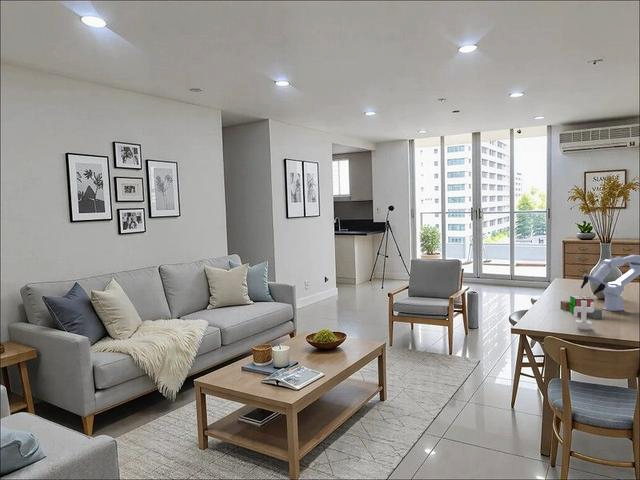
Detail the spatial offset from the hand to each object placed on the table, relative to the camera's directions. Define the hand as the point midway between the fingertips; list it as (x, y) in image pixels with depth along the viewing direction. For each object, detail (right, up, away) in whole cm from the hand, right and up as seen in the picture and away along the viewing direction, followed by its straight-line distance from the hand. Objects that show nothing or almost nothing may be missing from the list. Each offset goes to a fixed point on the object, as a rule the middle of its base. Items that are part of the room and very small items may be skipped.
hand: (587, 290), depth 286 cm
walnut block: (-7, -13, +11) cm, 19 cm away
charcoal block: (-2, -14, -12) cm, 19 cm away
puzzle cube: (-5, -14, -2) cm, 15 cm away
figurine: (-22, -16, -35) cm, 45 cm away
